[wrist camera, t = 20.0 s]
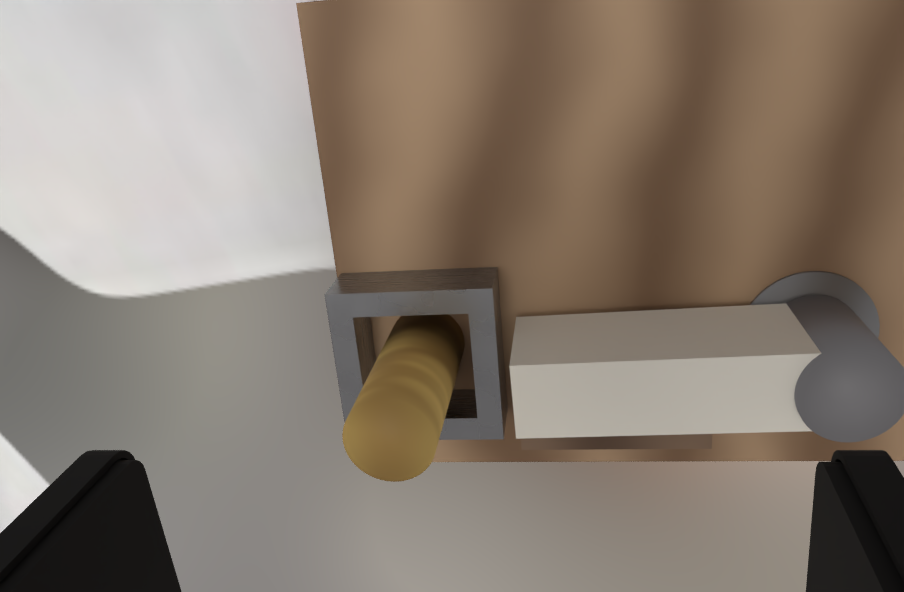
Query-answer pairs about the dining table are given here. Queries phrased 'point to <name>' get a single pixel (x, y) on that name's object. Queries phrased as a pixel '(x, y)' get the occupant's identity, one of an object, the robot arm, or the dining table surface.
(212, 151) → the dining table surface
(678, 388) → the handle
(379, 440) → the pin
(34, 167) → the dining table surface
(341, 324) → the collar
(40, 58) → the dining table surface
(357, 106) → the board
